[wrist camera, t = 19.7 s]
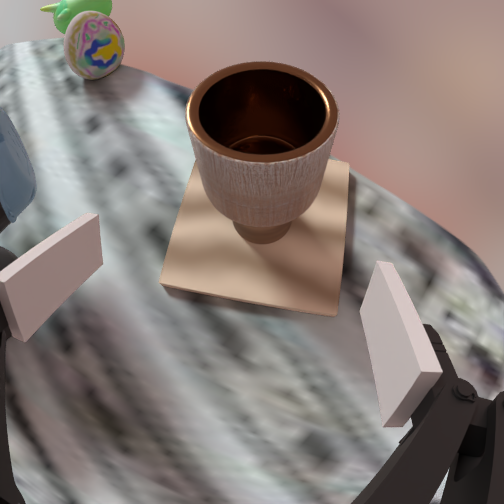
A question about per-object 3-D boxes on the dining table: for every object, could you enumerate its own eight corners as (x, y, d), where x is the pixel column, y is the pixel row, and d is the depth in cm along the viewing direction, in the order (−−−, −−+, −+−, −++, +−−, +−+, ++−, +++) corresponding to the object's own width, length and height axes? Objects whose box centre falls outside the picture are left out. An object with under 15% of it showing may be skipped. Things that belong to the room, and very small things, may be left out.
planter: (337, 162, 29) (361, 91, 20) (286, 252, 26) (299, 195, 17) (242, 120, 31) (237, 47, 22) (180, 197, 28) (151, 128, 19)
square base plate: (333, 317, 34) (361, 299, 25) (162, 285, 36) (130, 258, 26) (346, 169, 41) (365, 120, 31) (203, 147, 42) (191, 97, 33)
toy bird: (128, 19, 59) (115, -25, 45) (74, 53, 55) (54, 9, 41) (99, 12, 63) (86, -24, 50) (52, 43, 59) (34, 7, 46)
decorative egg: (91, 93, 48) (62, 36, 34) (69, 77, 51) (44, 28, 37) (140, 59, 51) (121, 0, 37) (113, 46, 54) (95, -4, 40)
